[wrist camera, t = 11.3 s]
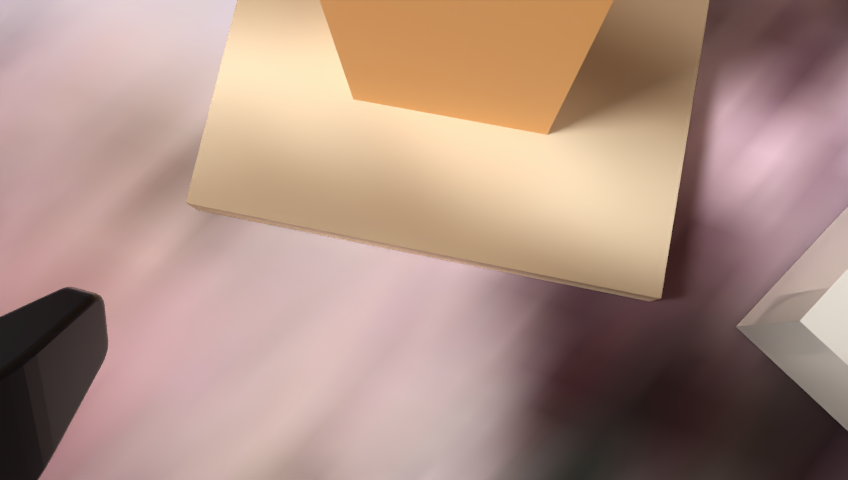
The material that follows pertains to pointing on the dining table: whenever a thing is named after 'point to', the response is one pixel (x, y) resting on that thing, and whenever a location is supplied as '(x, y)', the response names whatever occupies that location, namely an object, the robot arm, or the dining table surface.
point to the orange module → (466, 55)
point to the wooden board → (461, 153)
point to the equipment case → (810, 321)
